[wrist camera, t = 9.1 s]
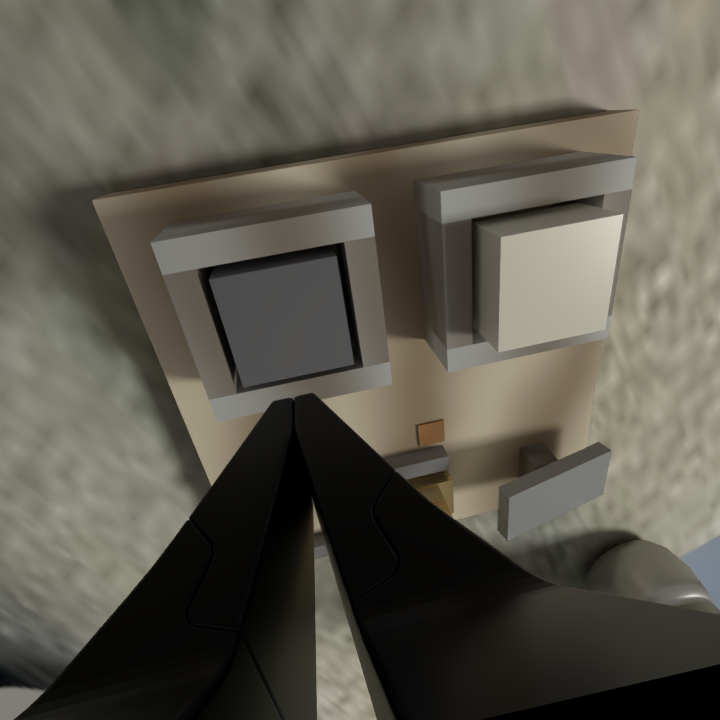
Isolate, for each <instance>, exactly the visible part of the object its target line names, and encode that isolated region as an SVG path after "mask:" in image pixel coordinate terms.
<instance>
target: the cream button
mask: <svg viewBox="0 0 720 720" xmlns="http://www.w3.org/2000/svg"><path fill="white" fill-rule="evenodd" d="M623 215H624V214H622V213H618V212H614V211H610V210H606V209H603V208H599V207H595V206H591V205H587V204H583V203H575V204H569V205H564V206H558V207H553V208H547V209H542V210H537V211H531V212H526V213H520V214H515V215H509V216H504V217H499V218H493V219H488V220H482V221H477V222H472V309H473V327H474V328H475V329H476V330H477V331H478V332H479V334H480V335H481V336H482V337H483V338H484V339H485V340H486V341H487V342H488V343H489V344H490V345H491V346H492V347H493V348H494V349H495V350H496V351H497V352H503V351H508V350H512V349H517V348H522V347H526V346H531V345H536V344H541V343H545V342H550V341H555V340H559V339H564V338H569V337H573V336H578V335H583V334H588V333H592V332H597V331H602V330H605V329H606V322H607V316H608V310H609V303H610V297H611V291H612V284H613V278H614V272H615V265H616V259H617V253H618V246H619V240H620V234H621V227H622V221H623Z"/></svg>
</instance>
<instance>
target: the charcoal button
mask: <svg viewBox="0 0 720 720" xmlns="http://www.w3.org/2000/svg"><path fill="white" fill-rule="evenodd" d="M209 282H210V285H211V288H212V291H213V294H214V298H215V301H216V304H217V307H218V310H219V313H220V316H221V319H222V323H223V326H224V329H225V332H226V335H227V338H228V341H229V344H230V348H231V351H232V354H233V357H234V360H235V363H236V366H237V369H238V373H239V376H240V379H241V382H242V385H243V388H244V387H249V386H254V385H259V384H263V383H268V382H273V381H278V380H282V379H287V378H292V377H297V376H302V375H306V374H311V373H316V372H321V371H325V370H330V369H335V368H340V367H345V366H349V365H354V359H353V353H352V347H351V341H350V335H349V329H348V323H347V317H346V311H345V305H344V299H343V292H342V286H341V280H340V274H339V268H338V262H337V256H336V254H335V252H334V250H333V248H332V246H331V244H330V245H325V246H319V247H314V248H308V249H303V250H297V251H292V252H287V253H281V254H276V255H270V256H265V257H259V258H254V259H248V260H243V261H237V262H232V263H227V264H221V265H216V266H214V268H213V270H212V273H211V275H210V278H209Z"/></svg>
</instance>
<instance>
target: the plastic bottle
mask: <svg viewBox="0 0 720 720" xmlns="http://www.w3.org/2000/svg"><path fill="white" fill-rule="evenodd" d="M587 586H588V590H590V591H596V592H601V593H607V594H612V595H617V596H623V597H628V598H633V599H639V600H644V601H650V602H655V603H660V604H666V605H671V606H677V607H682V608H687V609H693V610H698V611H703V612H709V613H716V614H720V610H719V609H718V608H717V607H716V606H715V603H714V601H713V599H712V598H711V596H710V595H709V593H708V592H707V590H706V588H705V587H704V586H703V584H702V583H701V582H700V580H699V579H698V578H697V576H696V575H695V574H694V572H693V571H692V570H691V568H690V567H689V566H688V565H687V564H685V563H684V562H683V561H682V560H681V559H679V558H678V557H677V556H676V555H674V554H673V553H672V552H671V551H670V550H668V549H667V548H666V547H663V546H661V545H658V544H656V543H653V542H650V541H646V540H634V541H629V542H626V543H622V544H620V545H618V546H616V547H614V548H612V549H610V550H608V551H607V552H606V553H604V554H603V555H602V556H601V557H599V558H598V559H597V560H596V561H595V563H594V564H593V565H592V567H591V568H590V570H589V573H588V576H587Z"/></svg>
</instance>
